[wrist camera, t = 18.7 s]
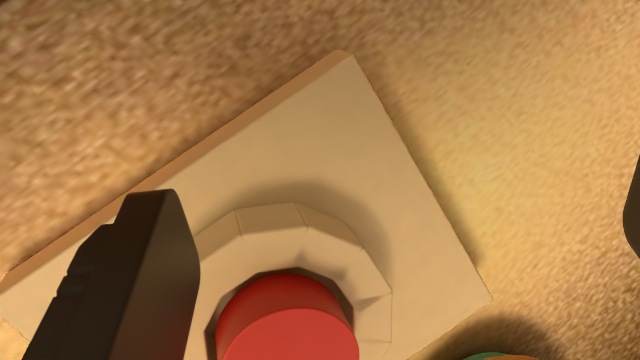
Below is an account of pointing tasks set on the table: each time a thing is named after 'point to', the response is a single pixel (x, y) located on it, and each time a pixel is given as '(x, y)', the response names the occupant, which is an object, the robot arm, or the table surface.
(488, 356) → the ballet flat
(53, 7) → the table surface
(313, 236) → the box
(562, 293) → the table surface
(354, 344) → the button
